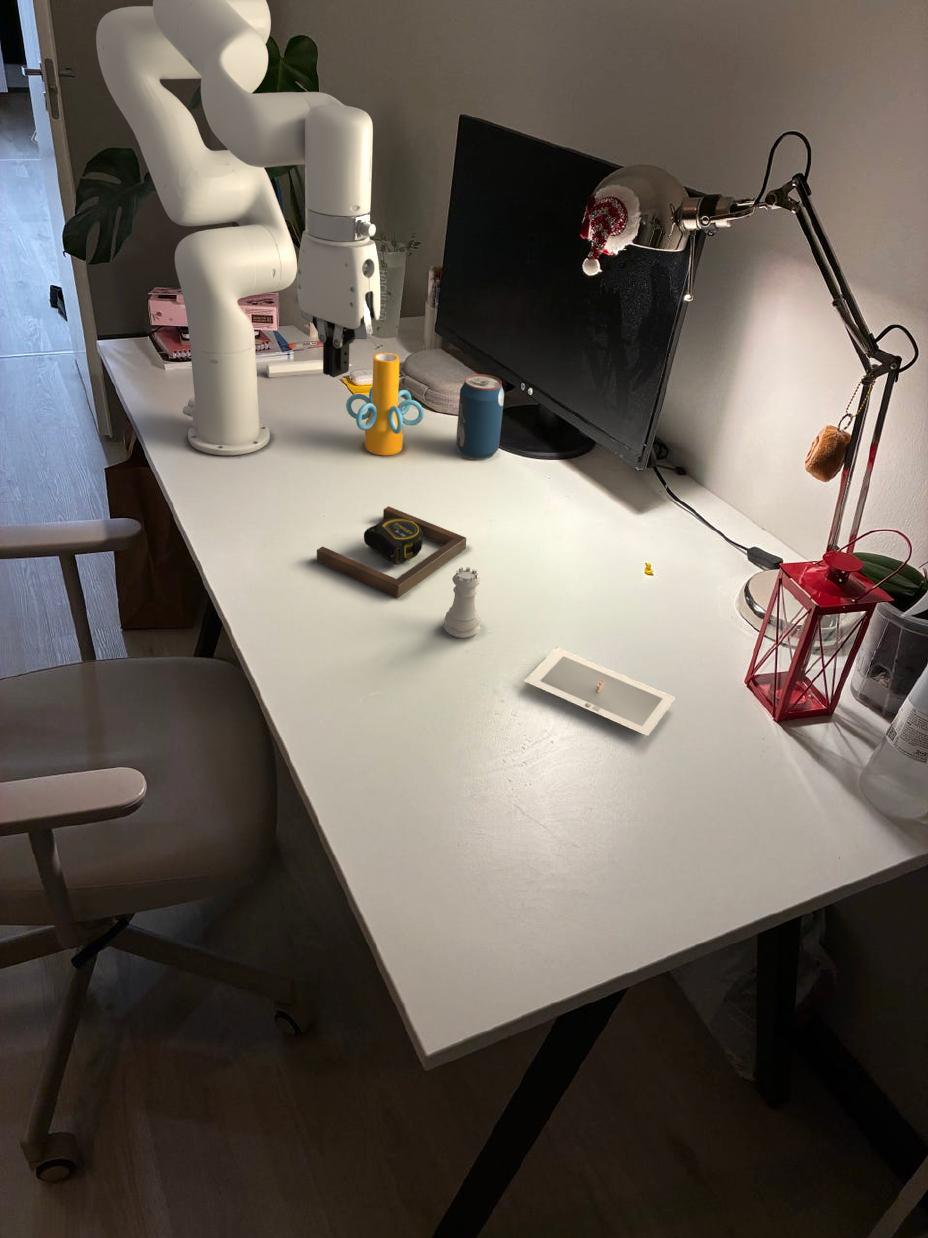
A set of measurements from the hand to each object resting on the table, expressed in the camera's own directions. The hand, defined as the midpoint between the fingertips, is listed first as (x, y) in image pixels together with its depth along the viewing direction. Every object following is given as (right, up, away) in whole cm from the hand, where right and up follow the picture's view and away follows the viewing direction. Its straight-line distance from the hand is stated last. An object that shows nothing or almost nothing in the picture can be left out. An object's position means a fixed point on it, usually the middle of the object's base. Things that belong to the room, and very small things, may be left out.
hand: (335, 372), depth 125 cm
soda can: (+19, -5, +32) cm, 37 cm away
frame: (+6, -23, +4) cm, 24 cm away
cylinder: (+4, -4, +30) cm, 31 cm away
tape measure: (+7, -23, +4) cm, 25 cm away
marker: (-12, +13, +54) cm, 57 cm away
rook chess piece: (+16, -33, -8) cm, 38 cm away
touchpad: (+31, -41, -17) cm, 54 cm away
